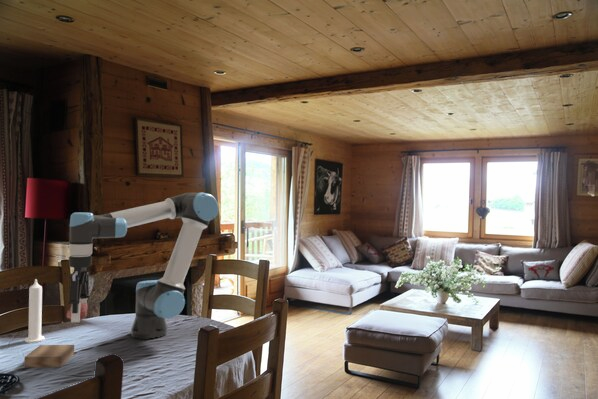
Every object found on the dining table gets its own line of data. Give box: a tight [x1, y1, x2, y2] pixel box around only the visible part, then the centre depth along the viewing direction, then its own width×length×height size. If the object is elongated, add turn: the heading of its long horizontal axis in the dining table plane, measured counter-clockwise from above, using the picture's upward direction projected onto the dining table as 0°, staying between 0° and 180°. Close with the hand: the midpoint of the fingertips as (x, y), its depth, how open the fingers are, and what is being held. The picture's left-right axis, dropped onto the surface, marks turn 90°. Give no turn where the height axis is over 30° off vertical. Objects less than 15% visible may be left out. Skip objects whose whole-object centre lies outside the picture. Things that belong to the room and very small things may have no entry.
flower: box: [66, 302, 89, 321], centre depth 161 cm, size 8×8×6 cm
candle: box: [24, 278, 46, 344], centre depth 182 cm, size 7×7×25 cm
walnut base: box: [24, 344, 75, 368], centre depth 161 cm, size 12×12×4 cm
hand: (78, 318), depth 161 cm, fingers closed on flower, 6 cm apart
